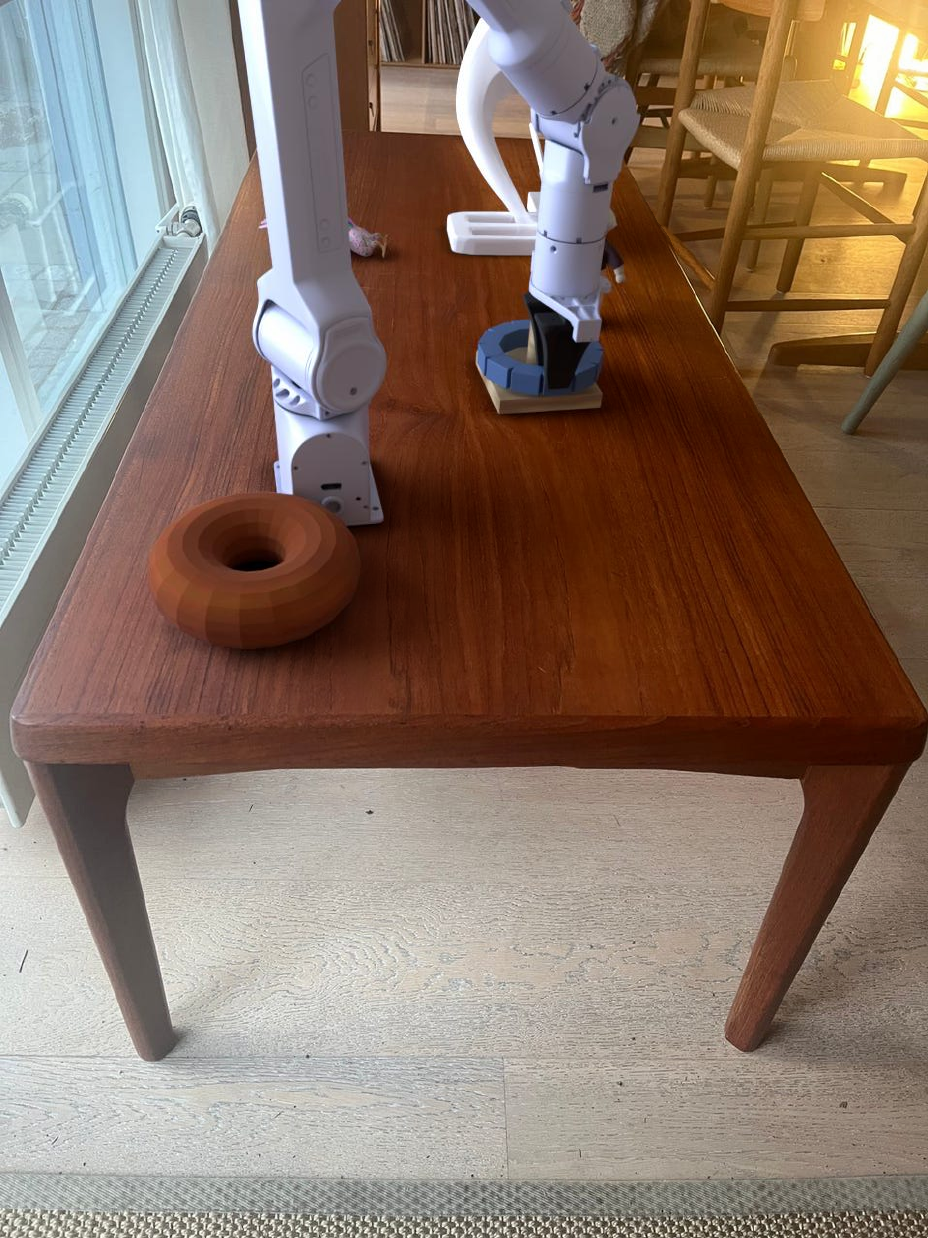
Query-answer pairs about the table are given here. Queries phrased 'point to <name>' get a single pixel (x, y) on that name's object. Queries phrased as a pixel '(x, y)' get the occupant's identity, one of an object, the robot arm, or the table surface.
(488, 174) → the jewelry stand
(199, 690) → the table surface
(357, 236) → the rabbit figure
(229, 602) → the donut
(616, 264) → the grandmother figurine
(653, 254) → the table surface
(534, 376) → the ring
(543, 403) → the stand
